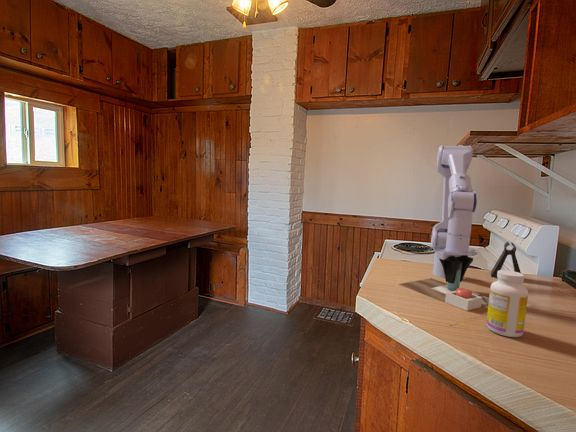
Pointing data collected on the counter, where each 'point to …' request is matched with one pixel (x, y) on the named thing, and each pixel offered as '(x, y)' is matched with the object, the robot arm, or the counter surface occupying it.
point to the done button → (464, 293)
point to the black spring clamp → (502, 260)
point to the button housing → (463, 301)
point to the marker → (456, 279)
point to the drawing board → (437, 290)
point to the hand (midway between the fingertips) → (453, 281)
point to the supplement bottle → (507, 304)
